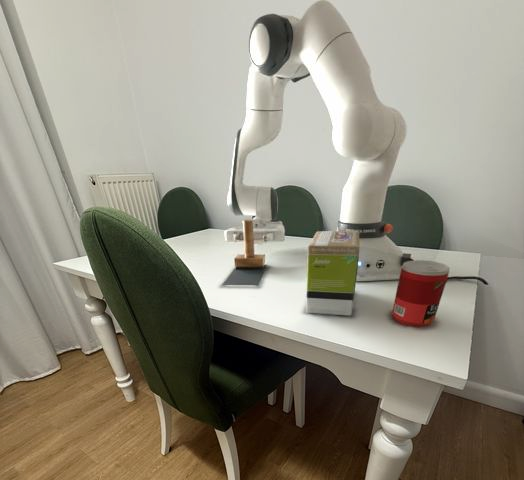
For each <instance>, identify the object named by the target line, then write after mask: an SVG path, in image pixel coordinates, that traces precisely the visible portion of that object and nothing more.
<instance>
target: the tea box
mask: <svg viewBox="0 0 524 480" xmlns="http://www.w3.org/2000/svg"><path fill="white" fill-rule="evenodd" d="M359 248H360V245H359V231H337V230H322V231H321V230H317V231H316V232H315V234H314V236H313V237H312V239H311V241H310V242H309V245H308V246H307V264H306V267H307V270H306V298H305V299H306V303H305V308H306V309H305V312H306V313H308V314H317V315H330V316H331V315H333V316H352V312H353V306H354V299H355V292H356V284H357V281H356V277H357V269H358V260H359Z"/></svg>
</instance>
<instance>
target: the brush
mask: <svg viewBox="0 0 524 480" xmlns="http://www.w3.org/2000/svg"><path fill="white" fill-rule="evenodd" d="M242 227H243V233H244V242H243V244H244V254H236V256H234V258H233V260H234V268H235V267H236V270H263V268H264V266H265V265H266V254H255V244H254V234H253V220H252V219H243V220H242Z"/></svg>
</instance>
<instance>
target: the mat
mask: <svg viewBox="0 0 524 480" xmlns="http://www.w3.org/2000/svg"><path fill="white" fill-rule="evenodd" d="M267 266H268V264H265V266H264V268H263V270H236V267H235V266H234V268H233V270H232V271H231V272H230V274H229V275H228V276H227V278H226V279H225V281H224V282H223V283H222V284H221V285H222V286H258V285H259V283H260V281H261V279H262V277H263V275H264V273H265V271H266V268H267Z"/></svg>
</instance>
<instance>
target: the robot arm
mask: <svg viewBox="0 0 524 480" xmlns="http://www.w3.org/2000/svg"><path fill="white" fill-rule="evenodd" d="M248 37H249V38H248V54H249V59H250V62H251V65H250V66H249V70H248V78H247V86H246V114H245V120H244V124H243V125H242V127H241V128H240V129H238V131H237V132H236V136H235V140H234V146H233V154H232V164H231V172H230V173H231V174H230V181H229V182H230V183H229V190H228V193H227V208H228V209H229V211H230V212H231V213H232V214H233V215H234V216H253V218H252V219H251V220H253V234H254V246H261V245H264V244H268V243H274V242H275V243H276V242H277V243H278V242H279V243H280V242H285V240H286V239H285V237H286V234H285V233H286V230H285V226H284V224H283V221H281V220H276V219H277V218H278V215H279V208H280V201H279V200H280V199H279V194H278V192H277V191H276V190H275V188H274V187H272V186H265V185H264V186H259V185H245V184H244V175H245V167H246V160H247V157H248V155H249V154H250V153H252V152H253V151H256V150H257V149H260V148H262V147H265V146H267V145H269V144H270V143H273V141H274V140H276V139H277V137H278V136H279V135H280V132H281V130H282V124H283V118H284V117H283V115H284V96H285V95H284V94H285V89H286V86H287V85H288V83H289V82H290V81H291V82H292V83H294V84H295V83H297V82H299V81H301V80H303V79H306V78H308V77H311V79H312V81H313V82H314V84H315V87H316V89H317V90H318V92H319V94H320V96H321V98H322V100H323V102H324V103H325V106H326V108H327V110H328V114H329V117H330V120H331V124H332V134H331V135H332V136H331V137H332V138H331V139H332V144H333V147H334V150H335V151H336V152H337V153H338V154H339V155H340V156H341V157H343V158H345V159H346V160H349V161H351V162H353V163H352V166H351V167H352V168H351V170H350V173H349V177H348V179H347V181H346V183H345V185H344V186H343V189H342V194H341V203H340V204H341V205H340V214H339V220H338V221H337V225H336V231H359V245H360V248H359V260H358V269H357V277H356V282H372V281H373V282H374V281H391V280H392V281H393V280H395V281H396V280H399V277H400V273H401V269H402V266H403V263H405V262H407V261H414V260H415V259H413V258H412V253H405V252H404V253H403V251H402V249H401V248H400V247H399V246H398V245H397V244H396V243H395V242H394V241H393V240H391V239H390V238H389V237H388V236H387V235H388V234H390V233H392V231H393V230H394V226H393V225H392V224H390V223H387V222H385V221H384V220H382V219H383V213H384V209H385V202H386V196H387V191H388V187H389V184H390V180H391V178H392V174H393V171H394V168H395V165H396V162H397V159H398V155H399V153H400V152H399V151H400V149H401V148H402V146H403V145H404V142H405V140H406V138H407V131H408V128H407V127H408V126H407V123H406V120H405V118H404V117H403V115H402V114H401V112H400V111H399V110H398V109H397V108H395V107H391V106H387V105H385V104H384V103H383V102H382V101H381V100H380V99H379V96H378V94H377V93H376V90H375V87H374V84H373V80H372V76H371V67H370V64H369V63H368V61H367V58H366V57H365V54H364V53H363V51H362V49H361V47H360V45H359V43H358V41H357V39H356V37H355V35H354V34H353V31H352V29H351V28H350V26H349V24H348V23H347V21H346V20H345V19H344V17H343V16H342V14H341V13H340V11H339V10H338V9H337V8H336V7H335V6H334V5H333V4H332V3H331V2H330V1H328V0H317V1H315V2H314V3H312V4H311V5H310V6H309V7H308V8H307V9H306V11H305V12H304V14H303V16H302V17H301V18H299V17H295V16H293V15H286V14H280V15H279V14H277V13H267V14H263V15H261V16H259V17H258V18H257V19H255V21H254V23H253V25H252V26H251V29H250V31H249V36H248ZM224 238H225V242H227V243H244V233H243V226H241V227H240V226H237V227H230V228H228V229H226V230H224ZM451 280H476V281H479V282H481V283H482V284H483V285H486V286H489V283H488V281H486V280H485V279H484V278H483V277H480V276H474V275H472V276H471V275H469V276H468V275H467V276H458V275H457V276H448V278H447V281H451Z"/></svg>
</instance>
